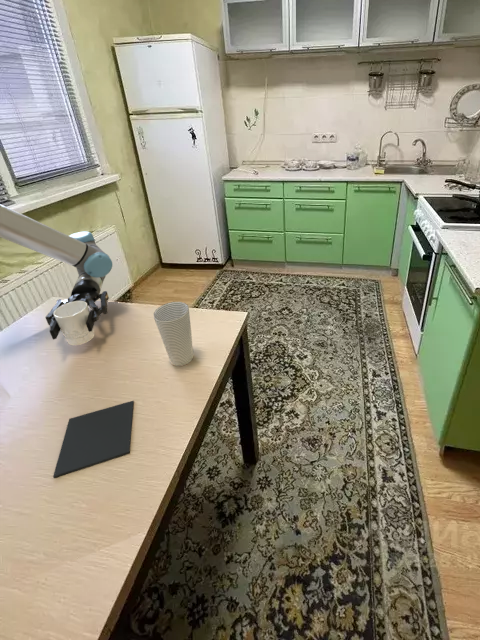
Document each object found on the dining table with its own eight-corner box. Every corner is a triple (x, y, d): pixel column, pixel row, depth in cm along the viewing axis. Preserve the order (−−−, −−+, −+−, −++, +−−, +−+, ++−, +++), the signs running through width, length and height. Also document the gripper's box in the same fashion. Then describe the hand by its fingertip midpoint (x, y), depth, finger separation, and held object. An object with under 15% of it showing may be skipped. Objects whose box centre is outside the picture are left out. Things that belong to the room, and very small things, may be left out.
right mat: (53, 478, 60) (52, 476, 60) (69, 420, 71) (69, 418, 71) (129, 453, 64) (129, 451, 64) (133, 401, 75) (133, 400, 75)
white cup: (89, 326, 97) (79, 297, 92) (102, 335, 93) (92, 306, 88) (60, 340, 91) (48, 311, 87) (73, 351, 87) (61, 321, 83)
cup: (175, 345, 92) (165, 300, 85) (203, 349, 90) (194, 302, 83) (159, 367, 84) (146, 319, 78) (189, 372, 83) (178, 323, 76)
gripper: (124, 292, 109) (117, 333, 90) (54, 305, 103) (30, 352, 84) (119, 273, 106) (110, 310, 87) (46, 285, 100) (19, 328, 80)
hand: (71, 331), depth 85 cm, fingers closed on white cup, 8 cm apart
